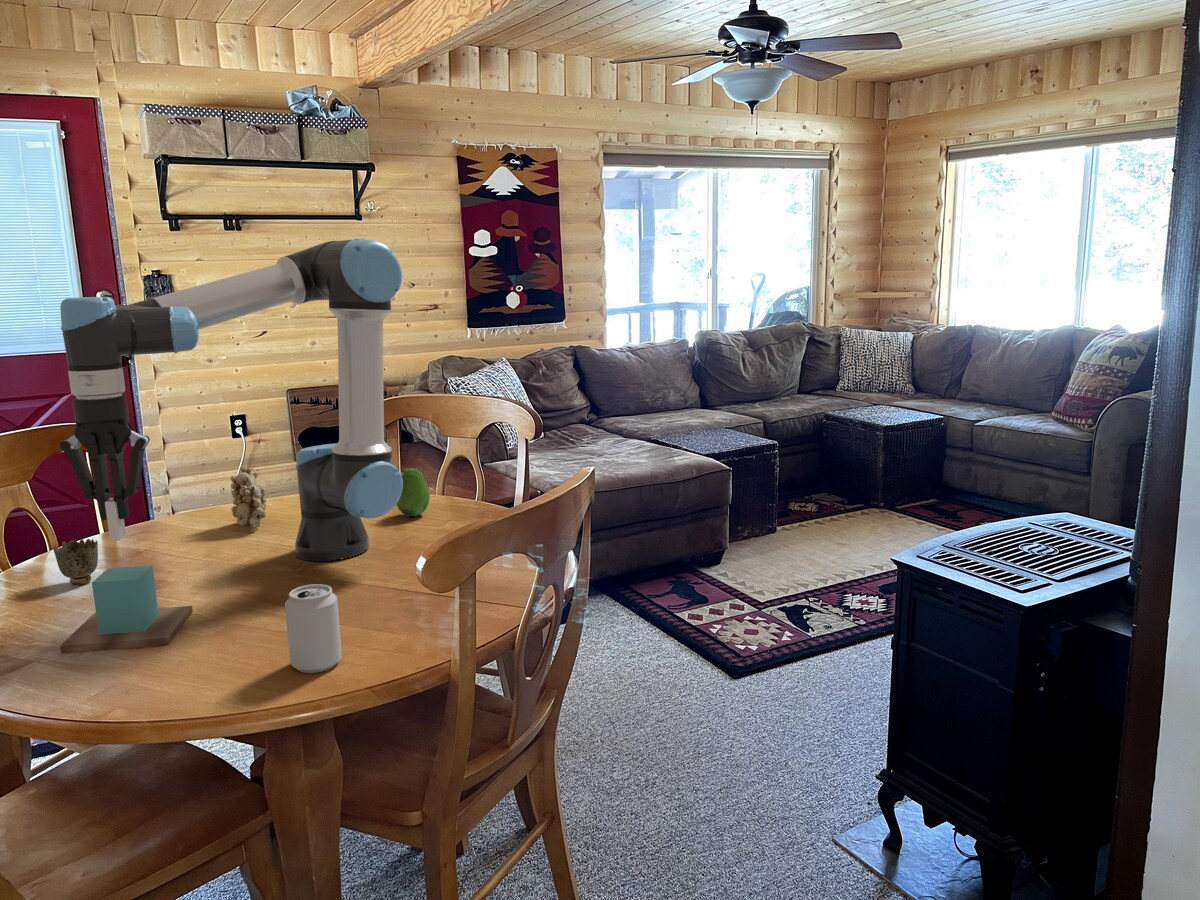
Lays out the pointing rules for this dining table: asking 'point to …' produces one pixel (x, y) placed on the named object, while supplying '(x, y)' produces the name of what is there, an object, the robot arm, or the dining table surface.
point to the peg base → (153, 636)
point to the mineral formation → (248, 498)
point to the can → (313, 628)
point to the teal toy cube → (125, 599)
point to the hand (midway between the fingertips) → (118, 537)
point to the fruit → (413, 493)
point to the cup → (77, 560)
